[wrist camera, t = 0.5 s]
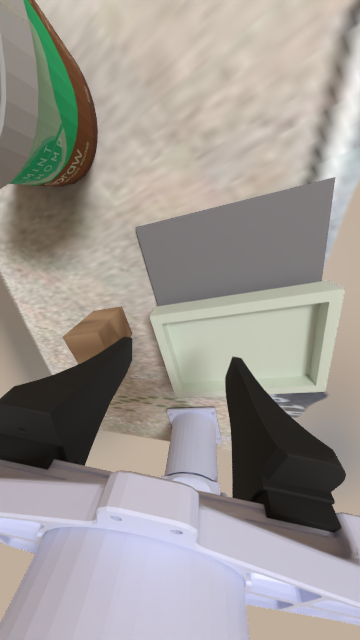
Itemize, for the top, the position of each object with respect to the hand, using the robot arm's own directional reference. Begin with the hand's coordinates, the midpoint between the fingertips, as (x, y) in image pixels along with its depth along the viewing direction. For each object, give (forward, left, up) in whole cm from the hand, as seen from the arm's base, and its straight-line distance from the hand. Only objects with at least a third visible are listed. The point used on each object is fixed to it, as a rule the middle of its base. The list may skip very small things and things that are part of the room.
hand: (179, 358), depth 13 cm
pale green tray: (-5, -5, -9) cm, 12 cm away
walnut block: (-1, +10, -10) cm, 14 cm away
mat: (-2, -5, -10) cm, 11 cm away
